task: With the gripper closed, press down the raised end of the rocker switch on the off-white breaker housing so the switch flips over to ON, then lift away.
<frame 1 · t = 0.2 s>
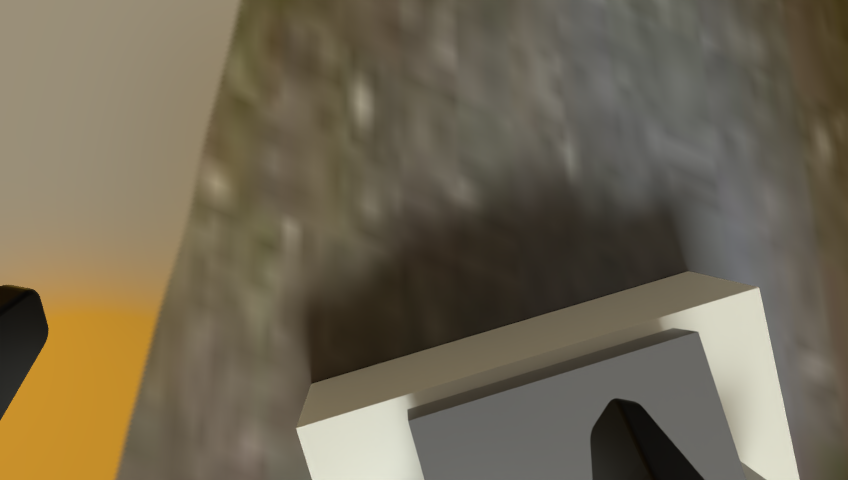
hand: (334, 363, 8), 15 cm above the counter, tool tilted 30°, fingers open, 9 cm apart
breaker housing: (542, 467, 24), on the counter
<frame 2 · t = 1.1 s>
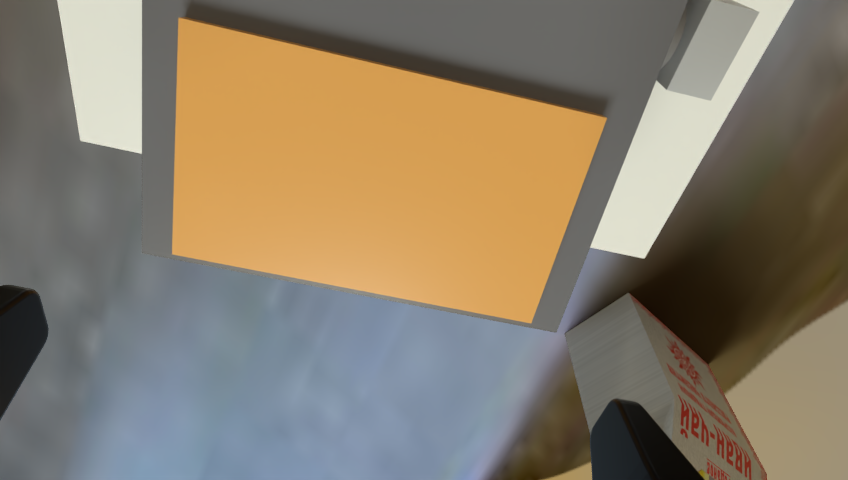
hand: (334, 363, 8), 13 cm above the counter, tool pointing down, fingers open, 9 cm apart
printed cardboard box: (636, 346, 26), on the counter
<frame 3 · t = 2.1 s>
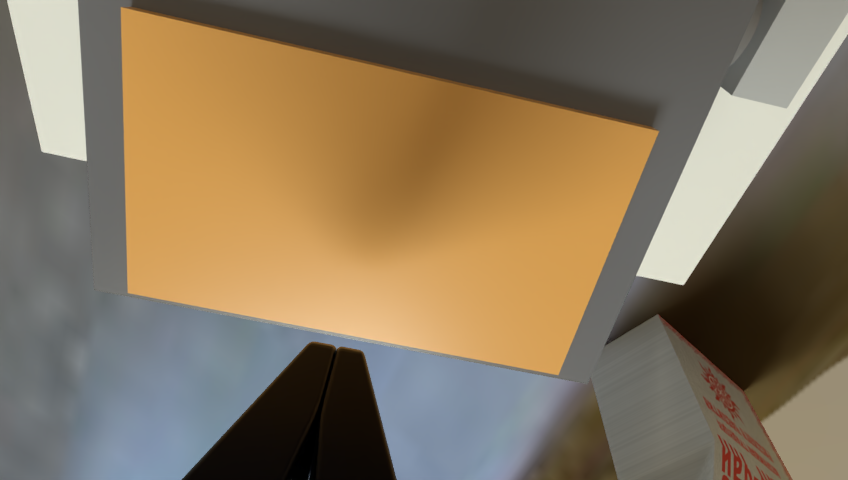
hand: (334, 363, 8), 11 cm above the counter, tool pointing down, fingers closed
printed cardboard box: (664, 370, 24), on the counter
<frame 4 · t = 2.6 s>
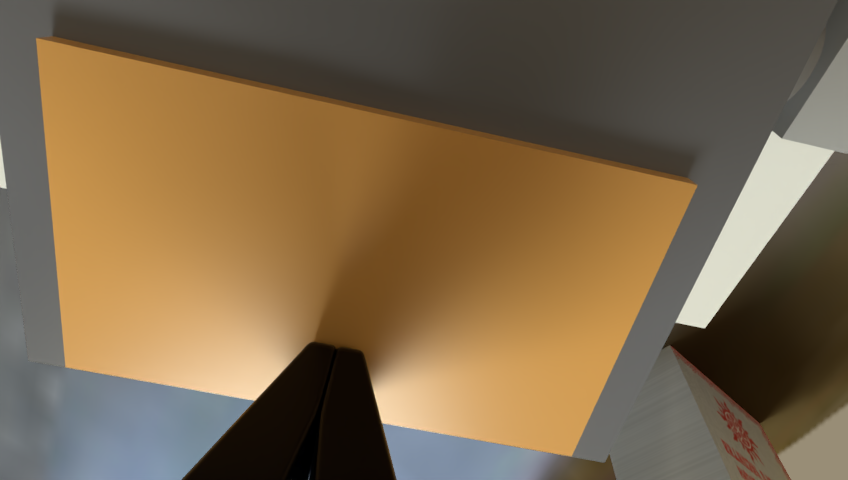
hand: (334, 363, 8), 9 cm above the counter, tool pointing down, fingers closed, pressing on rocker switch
printed cardboard box: (675, 402, 23), on the counter
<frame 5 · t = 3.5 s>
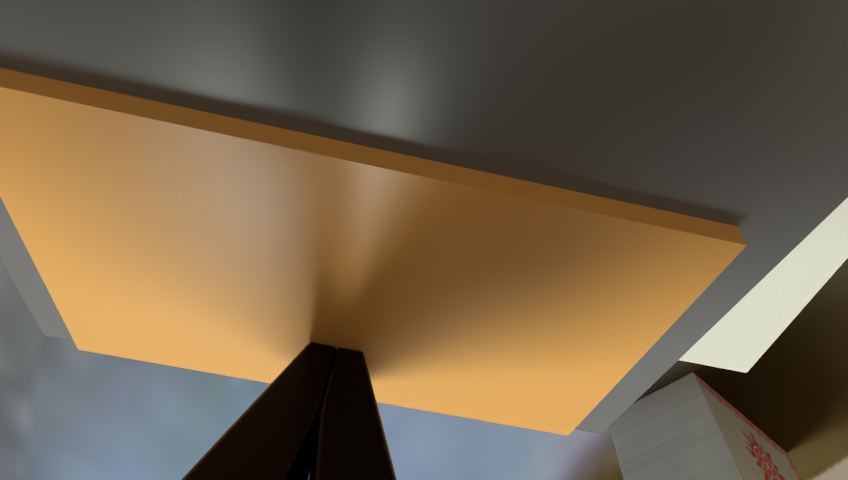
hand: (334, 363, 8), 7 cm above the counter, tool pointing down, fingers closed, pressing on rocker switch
printed cardboard box: (696, 430, 21), on the counter
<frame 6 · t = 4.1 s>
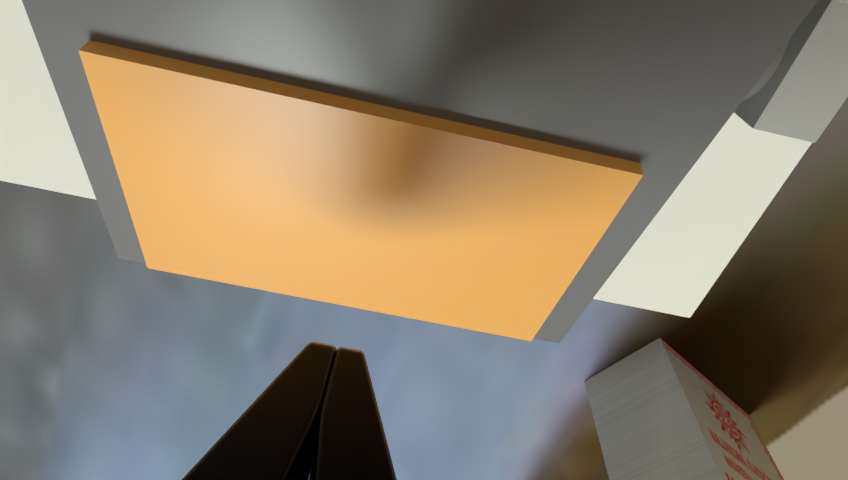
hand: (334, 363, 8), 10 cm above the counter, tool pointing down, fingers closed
printed cardboard box: (666, 394, 23), on the counter
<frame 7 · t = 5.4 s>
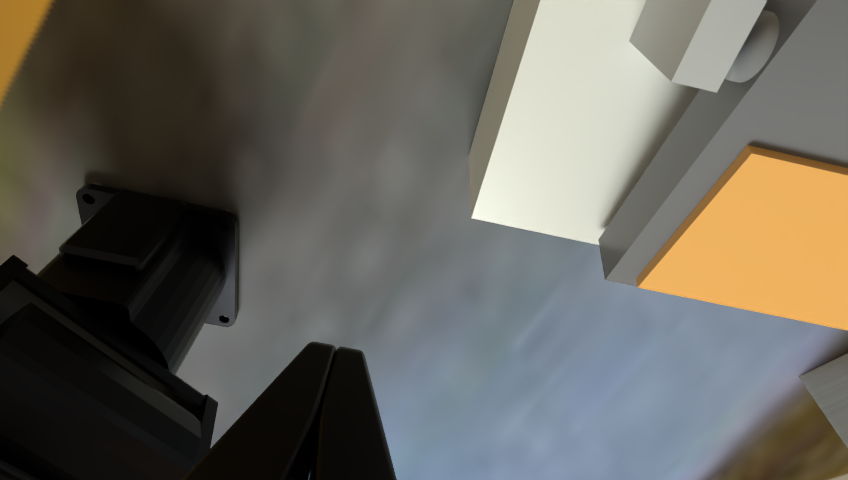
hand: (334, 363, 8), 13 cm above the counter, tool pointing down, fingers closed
breaker housing: (792, 23, 17), on the counter
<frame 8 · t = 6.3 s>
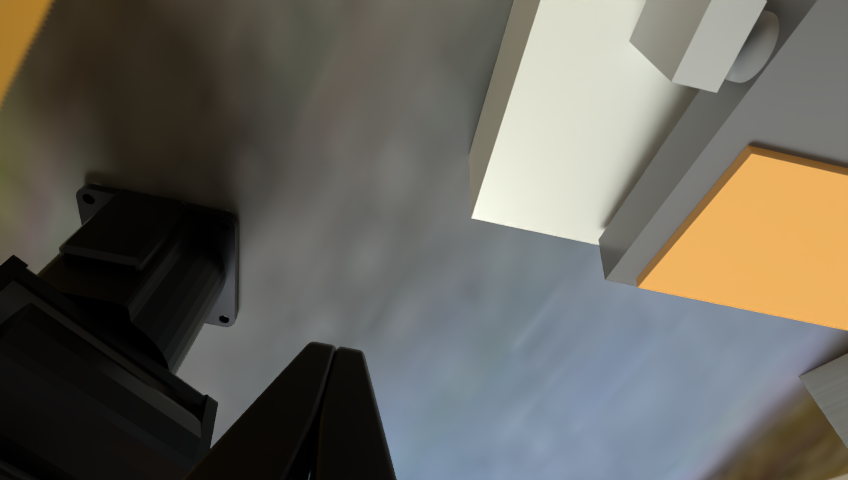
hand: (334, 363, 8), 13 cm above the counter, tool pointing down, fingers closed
breaker housing: (792, 23, 17), on the counter
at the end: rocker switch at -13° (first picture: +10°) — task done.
